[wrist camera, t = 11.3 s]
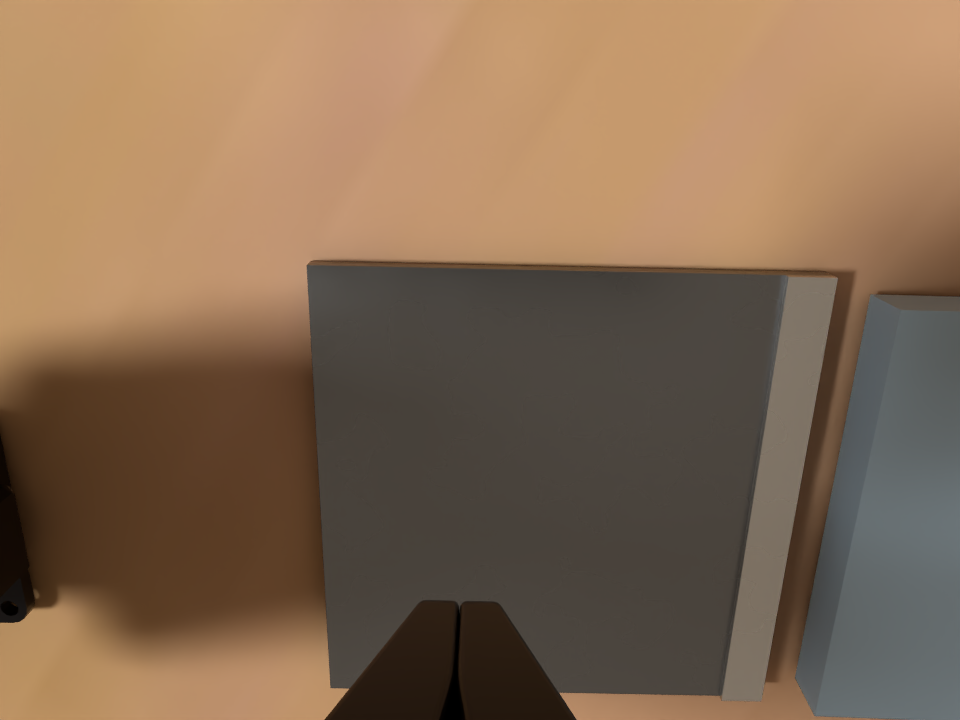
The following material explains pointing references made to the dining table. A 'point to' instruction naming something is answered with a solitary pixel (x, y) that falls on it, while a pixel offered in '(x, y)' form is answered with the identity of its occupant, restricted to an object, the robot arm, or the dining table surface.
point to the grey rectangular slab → (893, 527)
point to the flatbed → (566, 460)
